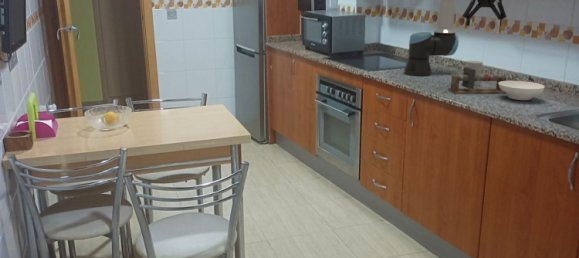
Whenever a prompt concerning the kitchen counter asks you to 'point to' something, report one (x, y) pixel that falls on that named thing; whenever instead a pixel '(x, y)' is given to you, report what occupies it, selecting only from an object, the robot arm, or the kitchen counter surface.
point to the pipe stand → (484, 77)
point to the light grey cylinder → (477, 66)
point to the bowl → (521, 89)
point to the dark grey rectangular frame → (469, 77)
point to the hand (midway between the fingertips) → (482, 33)
